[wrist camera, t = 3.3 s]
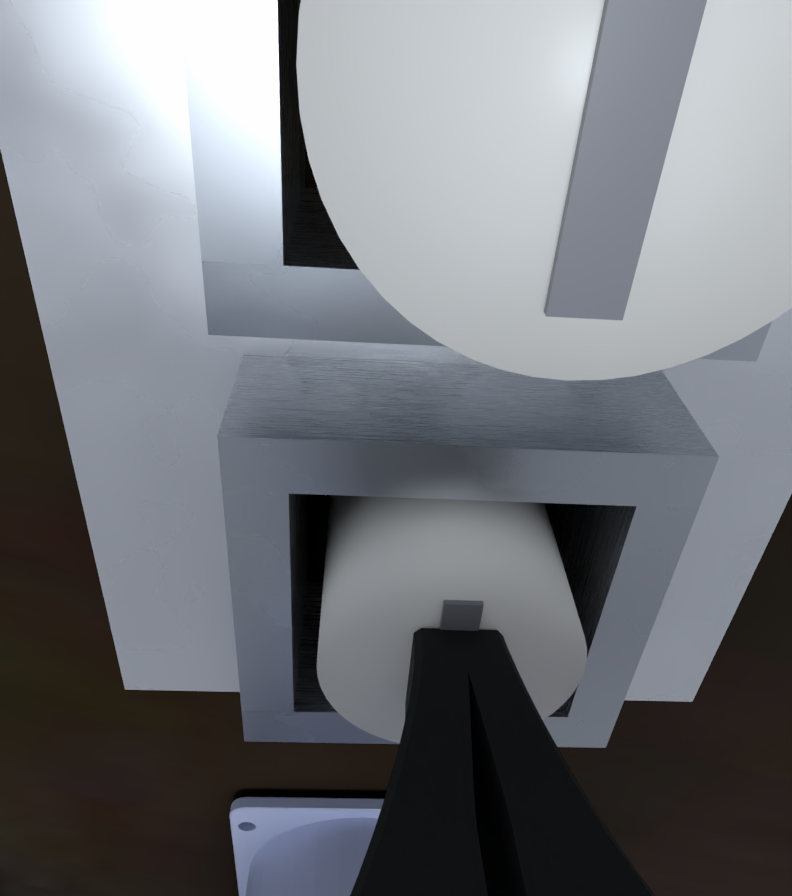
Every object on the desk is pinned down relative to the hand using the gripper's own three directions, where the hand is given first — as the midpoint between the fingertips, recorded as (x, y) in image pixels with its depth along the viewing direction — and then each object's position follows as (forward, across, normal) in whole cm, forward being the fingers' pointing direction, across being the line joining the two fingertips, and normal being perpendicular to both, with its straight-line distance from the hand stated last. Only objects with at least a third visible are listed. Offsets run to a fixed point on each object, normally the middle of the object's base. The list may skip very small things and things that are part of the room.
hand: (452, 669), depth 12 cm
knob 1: (+2, 0, -9) cm, 9 cm away
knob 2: (+4, 0, 0) cm, 4 cm away
